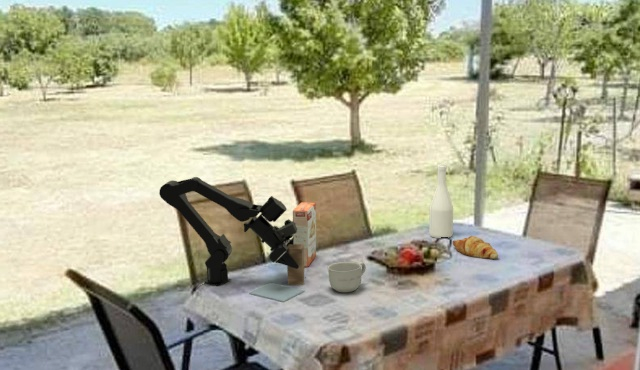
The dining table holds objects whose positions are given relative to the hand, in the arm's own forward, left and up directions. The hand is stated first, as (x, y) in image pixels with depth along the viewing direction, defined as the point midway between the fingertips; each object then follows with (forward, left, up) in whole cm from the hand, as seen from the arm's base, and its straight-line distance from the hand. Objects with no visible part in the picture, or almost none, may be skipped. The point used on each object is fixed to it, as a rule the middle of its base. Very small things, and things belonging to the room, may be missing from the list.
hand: (299, 263), depth 217 cm
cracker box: (-12, +20, -7) cm, 24 cm away
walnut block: (-1, -1, -7) cm, 7 cm away
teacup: (+17, +4, -7) cm, 19 cm away
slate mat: (-1, -12, -7) cm, 14 cm away
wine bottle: (+16, +77, -7) cm, 79 cm away
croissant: (+37, +60, -7) cm, 71 cm away
